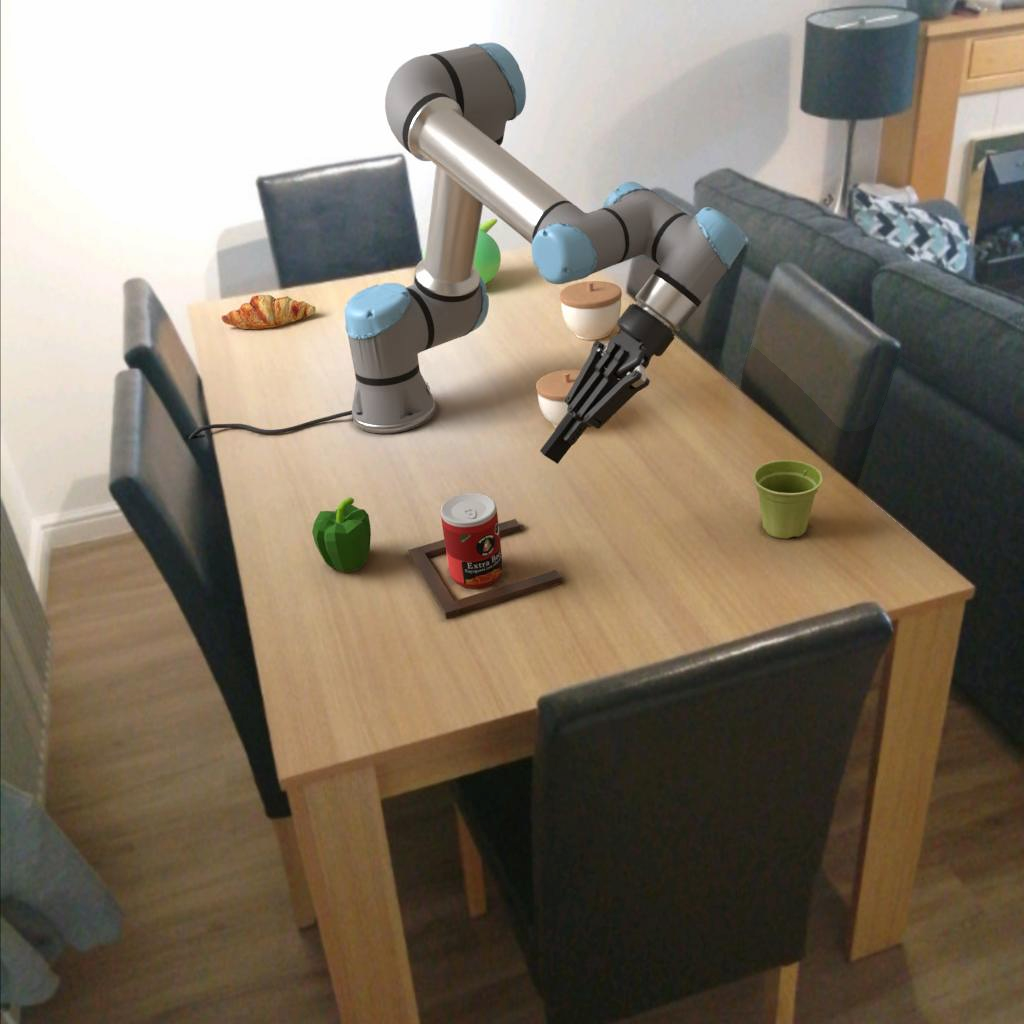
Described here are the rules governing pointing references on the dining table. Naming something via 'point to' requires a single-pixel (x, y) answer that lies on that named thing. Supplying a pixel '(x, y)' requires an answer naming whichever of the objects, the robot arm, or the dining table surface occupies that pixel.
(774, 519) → the plant pot
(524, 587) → the walnut frame
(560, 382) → the trinket box
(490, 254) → the toy bird
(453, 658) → the dining table surface
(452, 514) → the canned food
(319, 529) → the bell pepper
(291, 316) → the croissant
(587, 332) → the lidded bowl
